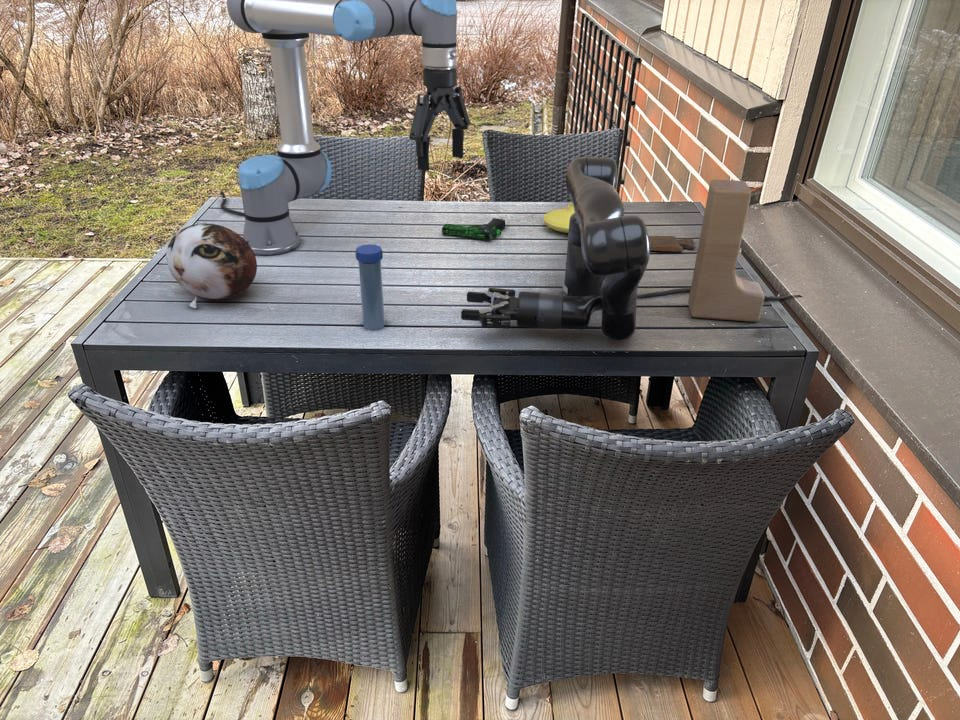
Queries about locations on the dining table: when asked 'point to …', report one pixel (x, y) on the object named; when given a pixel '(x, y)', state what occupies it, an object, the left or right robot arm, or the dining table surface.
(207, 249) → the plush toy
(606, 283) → the right robot arm
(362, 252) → the lid
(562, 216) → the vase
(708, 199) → the decorative block
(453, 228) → the handgun
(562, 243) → the dining table surface
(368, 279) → the blue-grey bottle
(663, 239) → the wooden paddle board
